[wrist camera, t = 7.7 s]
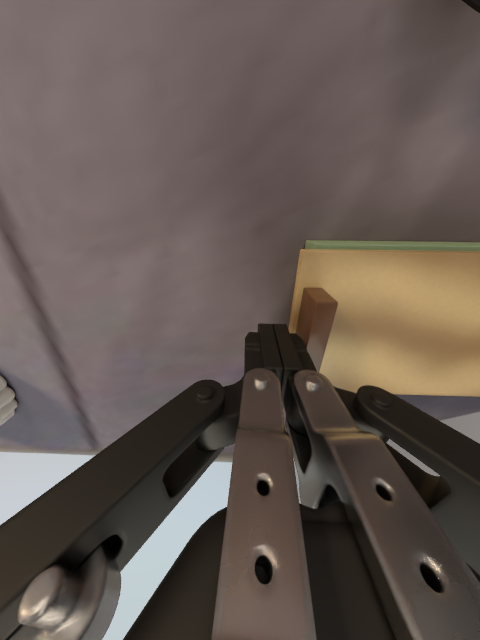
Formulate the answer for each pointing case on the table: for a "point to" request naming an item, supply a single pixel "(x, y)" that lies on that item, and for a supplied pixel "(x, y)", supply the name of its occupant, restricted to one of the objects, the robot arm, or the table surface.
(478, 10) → the black wing nut
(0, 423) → the mooncake
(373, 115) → the table surface
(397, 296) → the slide lid
